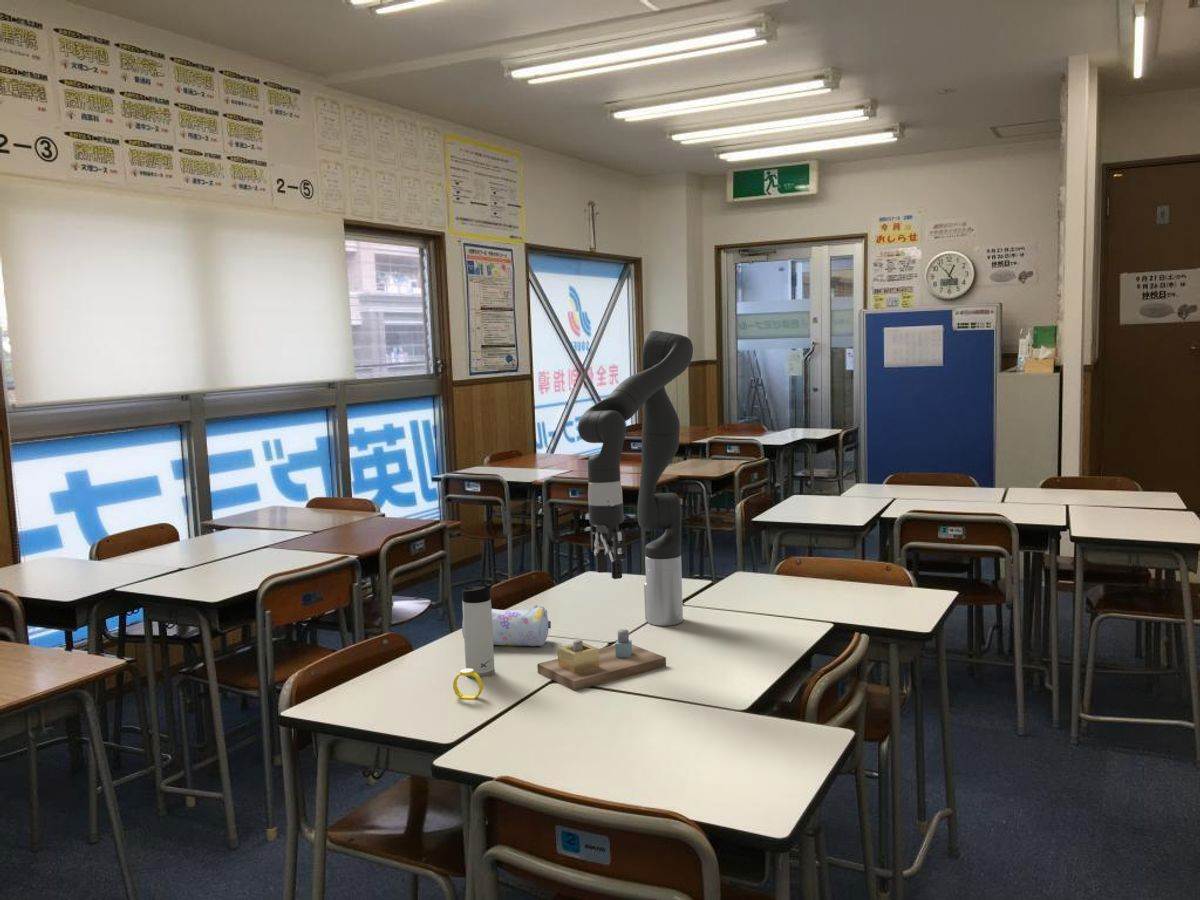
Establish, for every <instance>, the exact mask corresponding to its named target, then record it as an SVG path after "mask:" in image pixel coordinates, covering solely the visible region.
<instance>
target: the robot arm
mask: <svg viewBox="0 0 1200 900" xmlns="http://www.w3.org/2000/svg"><path fill="white" fill-rule="evenodd" d="M693 353H694V347H693V343H692V341H691V339H690V338H689V337H687V336H686V335H681V334H678V333H672V332H667V331H661V330H652V331H650V332H648V333H647V334H646V335H645V339H644V342H643V345H642V353H641V355H642V356H641V357H642V358H641V361H642V363H641V365H642V371H639V372H637V373H635V374H632V375H631V376H629V377H627V378H625V379H624V380H623V381H621V382H620V383H619V384H618V385H617V386H616V387H615V388H614V389H613V390H612V391H611V393H610V394H609V395H608V396H607V397H605V398H603V399H602V400H599V401H598V402H597V403H595V404H594V405H592V406H591V407H589V408H588V409H587V410H585V411H584V413H582V415H581V417H580V418H579V420H578V424H577V431H578V435H579V437H580V438H581V439H582V440H583V441H584V442H586V443H588V444H589V443H590V444H601V445H602V446H601V449H600V452H599V453H596V454H592V455H591V456H589V458H588V459H587V475H588V476H587V477H588V478H587V479H588V482H587V483H588V489H587V498H588V499H587V500H588V502H587V503H588V516H589V517H588V519H589V520H588V521H589V524H590V526H589V527H590V531H589V532H590V533H589V535H590V551H591V552H592V553H593V554H594V557H595V565H596V567H595V568H596V572H597V573H599V574H600V573H601V574H602V573H606V572H607V570H608V568H607V565H608V564H607V563H608V562H607V554H608V555H609V558H610V561H611V562H610V571H611V573H610V574H611V578H612V580H619V579H622V577H623V564H622V561H624V560H626V559H627V546H626V545H627V544H626V533H625V531H624V530H622V531H621V530H620V531H619V528H618V525H620V524H622V523H624V520H625V519H624V517H625V516H624V501H623V487H622V481H621V464H620V462H621V458H622V454H623V447H624V443H625V437H626V434H627V433H626V431H627V427H626V426H627V425H626V421H628V420H630V419H631V418H633V416H635V414H636V413H637V412H638V411H639V410H640V408H641V407H642V406H643V409H642V410H643V411H642V413H643V415H642V417H643V418H642V426H641V427H642V429H641V470H640V481H639V489H638V490H639V491H638V496H637V497H638V499H637V512H636V513H637V523H638V526H639V528H641V530H643V531H659V530H660V531H661V530H664V533H663V534H662V535H661V536H659V537H658V538H656V539H655V540H652V541H651V542H649V543H647V544H646V545H645V546H644V560H645V561H644V565H645V583H644V584H643V590H644V591H643V594H644V596H643V597H644V619H645V621H647V623H648V624H650V625H654V626H665V627H666V626H675V625H679V624H682V622H683V621H684V612H683V610H684V609H683V577H682V575H683V574H682V571H683V570H682V511H683V510H682V503H681V499H680V497H679V496H678V494H677V493H675V492H663V493H662V492H661V493H656V488H657V485H658V482H659V480H660V478H661V476H662V475H663V473H664V472H665V471H666V469H667V467H668V466H669V465H670V464H671V462H672V460H673V458H675V455H676V454H677V453H678V450H679V447H680V429H681V428H680V427H681V423H680V419H679V415H678V413H677V411H676V409H675V407H674V405H673V403H672V401H671V399H670V397H669V396H668V393H667V390H666V387H665V386H667V385H668V384H670V383H671V382H672V381H673V380H674V379H676V378H677V377H678V376H680V375H681V374H683V373H684V372H685V371H686V370H687V368H688V367H689V365H690V364H691V362H692V359H693V356H694V355H693Z"/></svg>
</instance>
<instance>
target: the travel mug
mask: <svg viewBox="0 0 1200 900" xmlns="http://www.w3.org/2000/svg"><path fill="white" fill-rule="evenodd" d="M492 588H493V585H492V583H479V584H478V583H477V584H474V585H470V586H467V587H464V589H462V590H461V594H462V595H461V597H462V598H461V599H462V601H461V603H462V623H463V625H464V638H463V641H464V642H463V643H464V659H465V669H467V668H471V669H473V670H474V672H475V673H477V674H478V675H479V676H480V678H481V679H485V678H488V677H491V676H493V675H494V674H495V672H496V669H495V652H494V645H493V628H492V609H493V608H492V602H491V601H492V597H491V589H492ZM467 677H468V678H472V679H476V678H475V677H473V676H472V675H469V676H467Z"/></svg>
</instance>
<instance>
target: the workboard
mask: <svg viewBox="0 0 1200 900" xmlns="http://www.w3.org/2000/svg"><path fill="white" fill-rule="evenodd" d="M582 642H583V640H582V639H581V640H580V639H576V640H573V642H572V644H573V650H574V652H578V651H583V643H582ZM598 649H599V667H597V668H593V669H589V670H585V671H581V672H577V673H573V672H571V671H569V670H566V669H564V668H562V667H560V666H558V658H555V659H552V660H547V661H543V662H539V663H537V673H538V674H539V675H542V676H544V677H545V678H548V679H550V680H552V681H554V682H556V683H559V684H560V685H562V686H564V687H566V688H569V689H571V690H573V691H578V690H579V691H580V690H582V689H583V690H584V689H586V688H591V687H593V686H594V687H595V686H597V685H601V684H604V683H605V684H606V683H608V682H612V681H616V680H619V679H620V680H621V679H623V678H627V677H630V676H636V675H638V674H642V673H646V672H650V671H653V670H657V669H660V668H661V669H662V668H665V667H667V657H666V656H664V655H661V654H658V653H656V652H653V651H650V650H647V649H645V648H642V647H640V646H637V645H634V644H632V654H631V656H630V657H616V653H615V644H613V645H609V646H605V647H601V648H598Z"/></svg>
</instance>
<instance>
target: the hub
mask: <svg viewBox="0 0 1200 900" xmlns="http://www.w3.org/2000/svg"><path fill="white" fill-rule="evenodd" d="M632 642H633V641H632V639H630V638H629V630H628V629H625V628H624V629H619V630H617V639H616V642H615V643H614V645H615V653H616V657H630V656H631V654H632V645H633V643H632Z"/></svg>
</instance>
